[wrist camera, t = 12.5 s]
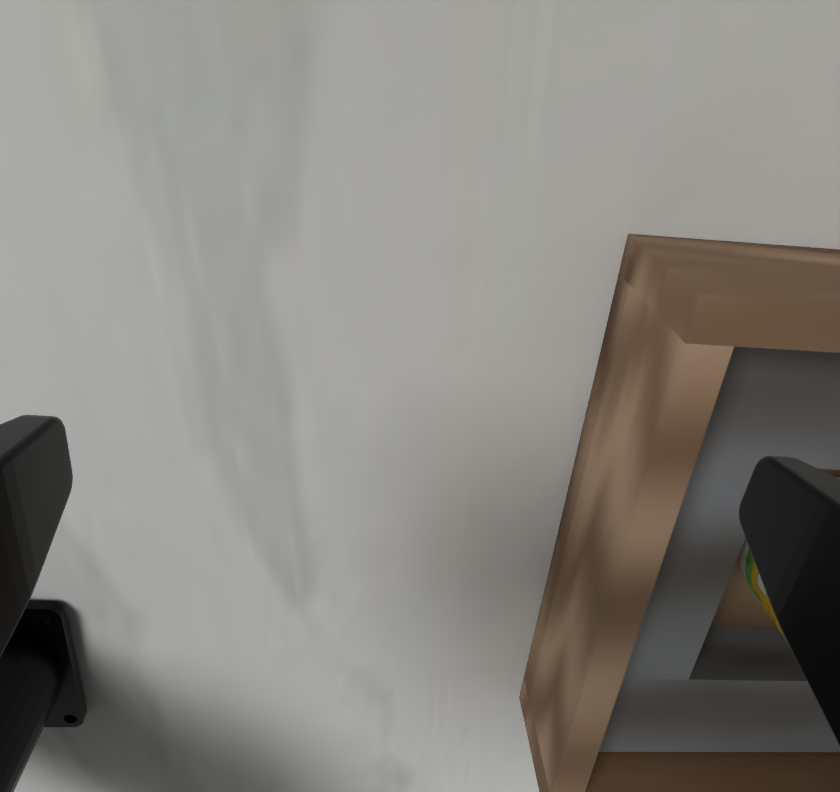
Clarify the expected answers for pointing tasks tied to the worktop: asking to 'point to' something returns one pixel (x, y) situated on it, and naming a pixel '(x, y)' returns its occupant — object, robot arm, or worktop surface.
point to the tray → (648, 496)
